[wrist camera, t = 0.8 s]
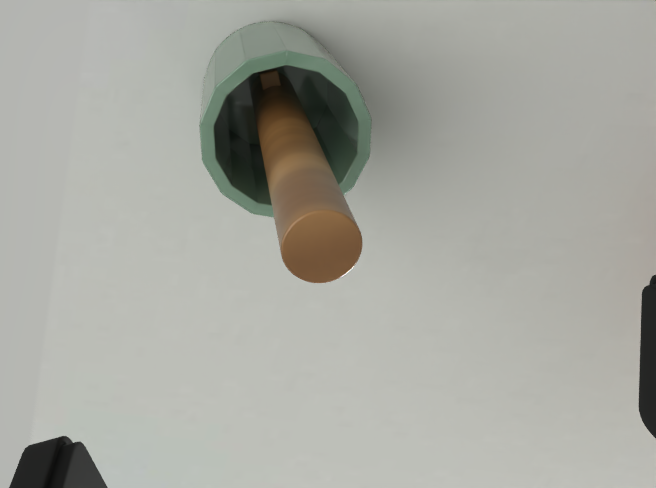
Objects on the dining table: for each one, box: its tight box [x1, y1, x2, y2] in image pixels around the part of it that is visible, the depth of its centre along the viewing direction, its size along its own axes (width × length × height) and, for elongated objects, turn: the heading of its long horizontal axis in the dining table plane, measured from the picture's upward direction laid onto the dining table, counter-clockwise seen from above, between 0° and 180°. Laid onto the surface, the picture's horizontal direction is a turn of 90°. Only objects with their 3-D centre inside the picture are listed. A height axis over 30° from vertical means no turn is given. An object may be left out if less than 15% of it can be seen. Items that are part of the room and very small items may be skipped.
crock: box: [199, 22, 372, 217], centre depth 26 cm, size 6×6×8 cm
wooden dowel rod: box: [251, 68, 362, 283], centre depth 22 cm, size 3×2×16 cm, turn 11°
